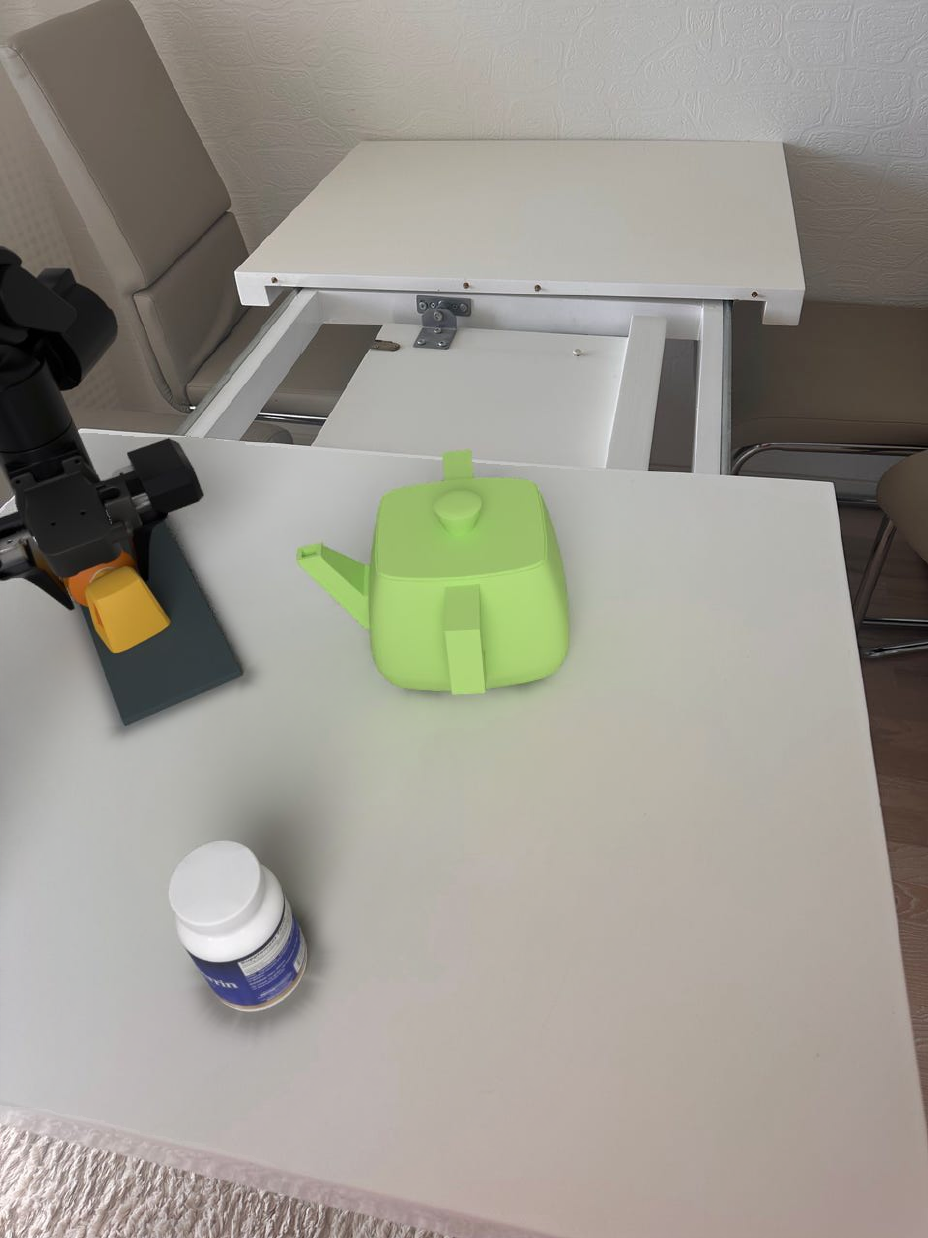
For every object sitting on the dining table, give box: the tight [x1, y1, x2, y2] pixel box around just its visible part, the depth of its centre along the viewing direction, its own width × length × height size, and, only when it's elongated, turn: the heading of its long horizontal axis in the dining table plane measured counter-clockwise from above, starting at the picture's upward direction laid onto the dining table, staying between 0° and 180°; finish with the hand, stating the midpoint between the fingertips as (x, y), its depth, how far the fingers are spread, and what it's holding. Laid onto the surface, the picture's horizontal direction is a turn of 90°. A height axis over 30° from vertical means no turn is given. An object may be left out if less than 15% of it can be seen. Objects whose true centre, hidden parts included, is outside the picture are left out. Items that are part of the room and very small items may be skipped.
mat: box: [79, 521, 243, 727], centre depth 76 cm, size 9×22×1 cm, turn 28°
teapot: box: [295, 448, 570, 696], centre depth 67 cm, size 18×20×13 cm
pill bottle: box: [167, 839, 308, 1012], centre depth 51 cm, size 6×6×10 cm
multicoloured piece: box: [59, 547, 171, 653], centre depth 75 cm, size 5×6×12 cm
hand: (108, 592), depth 76 cm, fingers closed on multicoloured piece, 6 cm apart
